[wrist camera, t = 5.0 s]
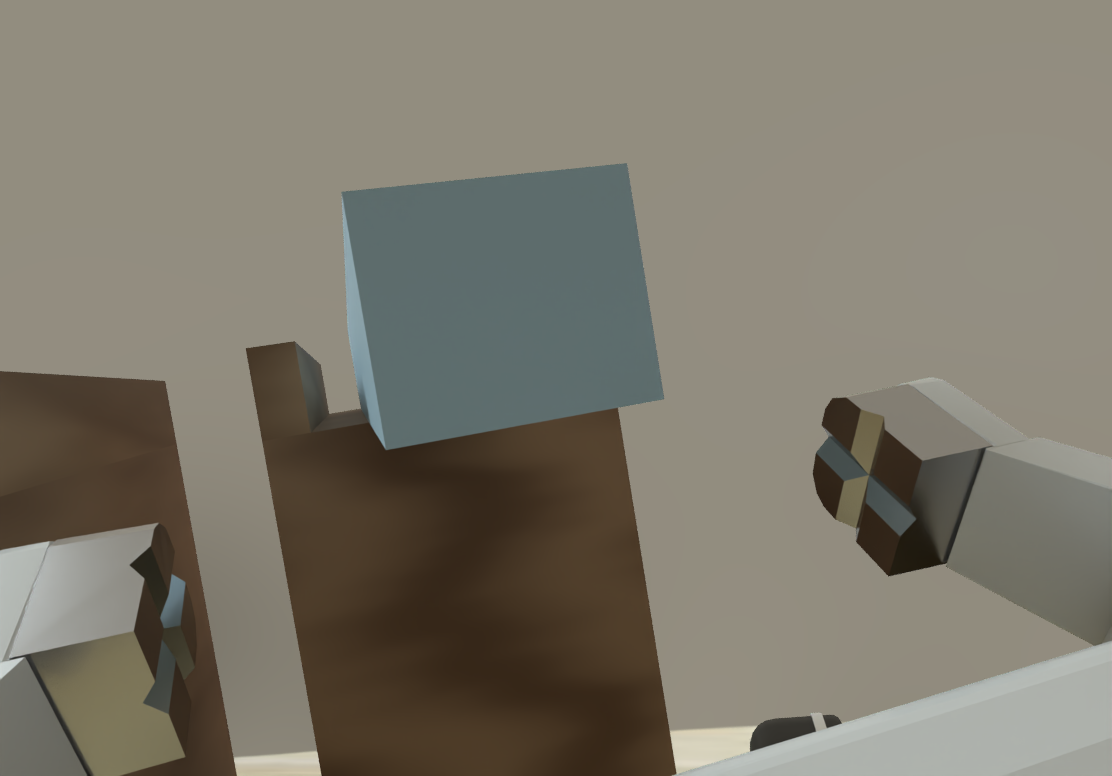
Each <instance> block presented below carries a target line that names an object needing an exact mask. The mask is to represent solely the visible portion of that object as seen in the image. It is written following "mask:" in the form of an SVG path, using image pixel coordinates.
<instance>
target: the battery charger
mask: <svg viewBox="0 0 1112 776" xmlns="http://www.w3.org/2000/svg"><path fill="white" fill-rule="evenodd" d="M839 724H842V723H841V721H840V720H839V718H838V717H836V716H834V715H822V713H821V712H819V713H810V716H807V717H792V718H779V719H772V720H767V721H764V722H763V723H761V724H760V725H758V726H757V728H756V729H755V730H754V732H753V734H752V738H751V741H750V752H751V751H754V750H758V749H761V748H764V747H767V746H771V745H774V744H777V743H780V742H784V741H787V740H790V739H793V738H797V737H800V736H803V735H807V734H810V733H813V732H816V731H820V730H823V729H826V728H829V727H833V726H836V725H839Z"/></svg>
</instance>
